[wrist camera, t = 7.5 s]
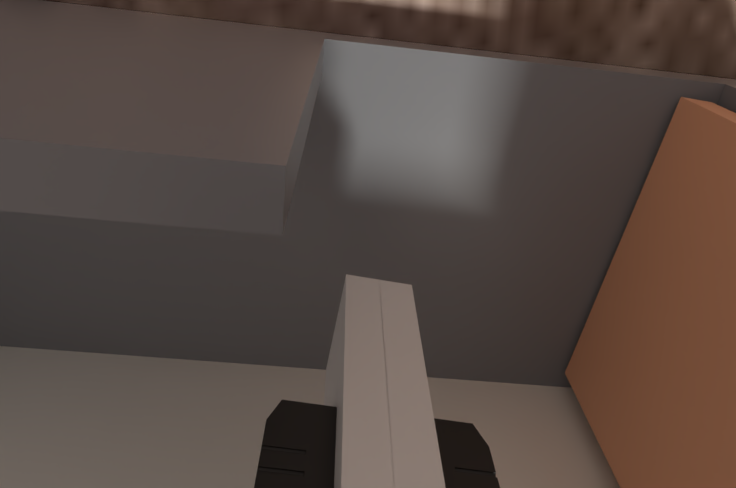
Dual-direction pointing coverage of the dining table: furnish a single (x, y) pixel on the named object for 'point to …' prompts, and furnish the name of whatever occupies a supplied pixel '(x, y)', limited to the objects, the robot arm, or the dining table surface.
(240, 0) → the dining table surface
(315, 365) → the storage box
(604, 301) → the box door
